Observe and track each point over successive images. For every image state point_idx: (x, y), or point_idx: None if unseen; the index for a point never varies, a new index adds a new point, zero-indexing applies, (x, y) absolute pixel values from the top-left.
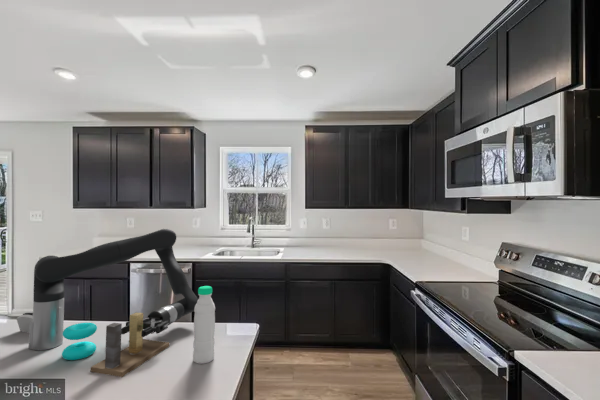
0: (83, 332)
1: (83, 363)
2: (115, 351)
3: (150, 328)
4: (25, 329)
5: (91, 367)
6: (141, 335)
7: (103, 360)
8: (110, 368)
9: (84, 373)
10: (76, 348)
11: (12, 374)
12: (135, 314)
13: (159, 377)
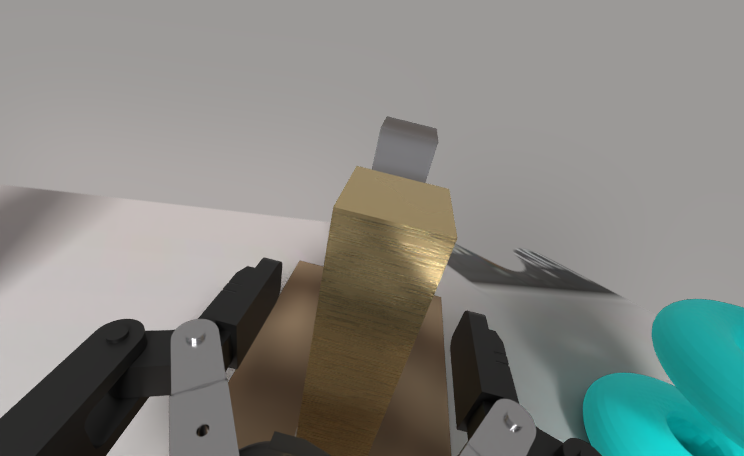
0: (668, 313)
1: (529, 372)
2: None
3: (217, 322)
4: None
5: (436, 296)
6: (280, 285)
7: (440, 341)
8: None
9: (445, 303)
10: (647, 388)
11: (636, 311)
12: (404, 190)
13: (149, 262)
